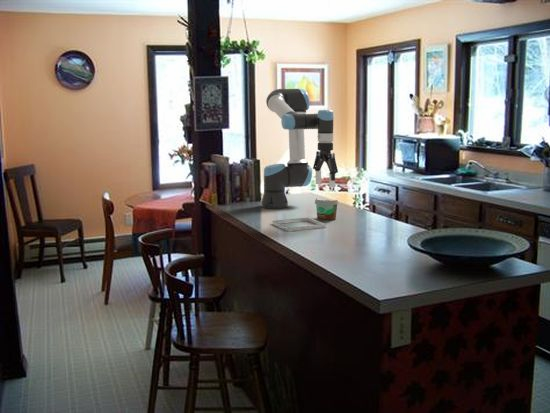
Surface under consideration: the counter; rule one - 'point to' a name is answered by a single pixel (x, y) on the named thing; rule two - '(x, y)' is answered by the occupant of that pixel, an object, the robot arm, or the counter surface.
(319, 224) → the grey square frame
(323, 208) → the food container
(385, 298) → the counter surface
